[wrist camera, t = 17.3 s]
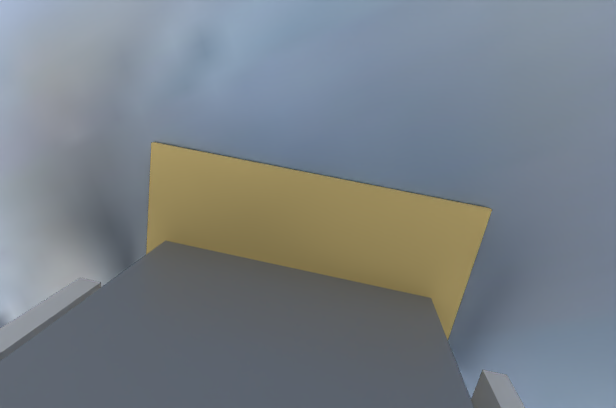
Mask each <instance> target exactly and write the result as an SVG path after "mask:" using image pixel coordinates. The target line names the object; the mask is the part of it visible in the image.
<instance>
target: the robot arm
mask: <svg viewBox="0 0 616 408" xmlns="http://www.w3.org/2000/svg"><path fill="white" fill-rule="evenodd" d="M100 288H101V282H98V281H94V280H89V279H85V278H79V279H77V280H75V281H74V282H72V283H71V284H69V285H68V286H66V287H64V288H63V289H61V290H60V291H58V292H57V293H55V294H53V295H52V296H50V297H49V298H47V299H46V300H44V301H42V302H41V303H39V304H38V305H36V306H35V307H33V308H31V309H30V310H28V311H27V312H25V313H24V314H22V315H21V316H19V317H17V318H16V319H14V320H13V321H11V322H10V323H8V324H6V325H5V326H3V327H2V328H0V361H1V360H2V359H4V358H5V357H7V356H8V355H9V354H11V353H12V352H13V351H15V350H16V349H18V348H19V347H20V346H22V345H23V344H24V343H26V342H27V341H29V340H30V339H31V338H33V337H34V336H35V335H37V334H38V333H39V332H41V331H42V330H44V329H45V328H46V327H48V326H49V325H50V324H52V323H53V322H55V321H56V320H57V319H59V318H60V317H61V316H63V315H64V314H66V313H67V312H68V311H70V310H71V309H72V308H74V307H75V306H77V305H78V304H79V303H81V302H82V301H83V300H85V299H86V298H87V297H89V296H90V295H92V294H93V293H94V292H96V291H97V290H98V289H100ZM471 401H472V404H473V406H474V408H525V407H524V405H523V403H522V401H521V399H520V398H519V396H518V394H517V392H516V390H515V389H514V387H513V385H512V383H511V382H510V380H509V378H508V376H507V375H505V374H501V373H496V372H492V371H487V370H482V372H481V375H480V378H479V380H478V383H477V385H476V388H475V391H474V393H473V396H472V398H471Z"/></svg>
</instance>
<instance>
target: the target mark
mask: <svg viewBox="0 0 616 408" xmlns="http://www.w3.org/2000/svg"><path fill="white" fill-rule="evenodd" d="M491 212H492V209H490V208H486V207H481V206H476V205H471V204H466V203H461V202H456V201H451V200H446V199H441V198H436V197H431V196H426V195H420V194H415V193H410V192H405V191H400V190H395V189H390V188H385V187H380V186H375V185H370V184H365V183H359V182H354V181H349V180H344V179H339V178H334V177H329V176H324V175H319V174H314V173H309V172H304V171H299V170H293V169H288V168H283V167H278V166H273V165H268V164H263V163H258V162H253V161H248V160H243V159H238V158H233V157H227V156H222V155H217V154H212V153H207V152H202V151H197V150H192V149H187V148H182V147H177V146H172V145H167V144H161V143H156V142H152V143H151V161H150V183H149V205H148V227H147V249H146V254H148V253H149V252H151V251H152V250H153V249H155V248H156V247H157V246H159V245H160V244H161V243H163V242H164V241H170V242H175V243H179V244H184V245H188V246H193V247H198V248H202V249H207V250H212V251H216V252H221V253H225V254H230V255H235V256H239V257H244V258H249V259H253V260H258V261H262V262H267V263H272V264H276V265H281V266H286V267H290V268H295V269H299V270H304V271H309V272H313V273H318V274H323V275H327V276H332V277H336V278H341V279H346V280H350V281H355V282H360V283H364V284H369V285H373V286H378V287H383V288H387V289H392V290H397V291H401V292H406V293H410V294H415V295H420V296H424V297H429V298H431V299H432V302H433V304H434V307H435V309H436V312H437V314H438V317H439V319H440V322H441V325H442V327H443V330H444V332H445V335H446V337H447V340H448V338H449V335H450V332H451V329H452V327H453V324H454V321H455V318H456V315H457V312H458V309H459V306H460V303H461V300H462V297H463V294H464V291H465V288H466V285H467V282H468V279H469V276H470V273H471V270H472V268H473V265H474V262H475V259H476V256H477V253H478V250H479V247H480V244H481V241H482V238H483V235H484V232H485V229H486V226H487V223H488V220H489V217H490V214H491Z"/></svg>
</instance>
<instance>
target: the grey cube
mask: <svg viewBox="0 0 616 408" xmlns="http://www.w3.org/2000/svg"><path fill="white" fill-rule="evenodd" d="M0 408H474V406H473V404H472V401H471V399H470V396H469V394H468V391H467V389H466V386H465V383H464V381H463V378H462V376H461V373H460V371H459V368H458V366H457V363H456V360H455V358H454V355H453V353H452V350H451V348H450V345H449V343H448V340H447V337H446V335H445V332H444V330H443V327H442V325H441V322H440V319H439V317H438V314H437V312H436V309H435V307H434V304H433V302H432V299H431V298H429V297H424V296H420V295H415V294H410V293H406V292H401V291H397V290H392V289H387V288H383V287H378V286H373V285H369V284H364V283H360V282H355V281H350V280H346V279H341V278H336V277H332V276H327V275H323V274H318V273H313V272H309V271H304V270H299V269H295V268H290V267H286V266H281V265H276V264H272V263H267V262H262V261H258V260H253V259H249V258H244V257H239V256H235V255H230V254H225V253H221V252H216V251H212V250H207V249H202V248H198V247H193V246H188V245H184V244H179V243H175V242H170V241H164V242H163V243H161V244H160V245H159V246H157V247H156V248H155V249H153V250H152V251H151V252H149V253H148V254H146V255H145V256H144V257H142V258H141V259H140V260H138V261H137V262H135V263H134V264H133V265H131V266H130V267H129V268H127V269H126V270H124V271H123V272H122V273H120V274H119V275H118V276H116V277H115V278H114V279H112V280H111V281H109V282H108V283H107V284H105V285H104V286H103V287H101V288H100V289H98V290H97V291H96V292H94V293H93V294H92V295H90V296H89V297H87V298H86V299H85V300H83V301H82V302H81V303H79V304H78V305H77V306H75V307H74V308H72V309H71V310H70V311H68V312H67V313H66V314H64V315H63V316H61V317H60V318H59V319H57V320H56V321H55V322H53V323H52V324H50V325H49V326H48V327H46V328H45V329H44V330H42V331H41V332H39V333H38V334H37V335H35V336H34V337H33V338H31V339H30V340H29V341H27V342H26V343H24V344H23V345H22V346H20V347H19V348H18V349H16V350H15V351H13V352H12V353H11V354H9V355H8V356H7V357H5V358H4V359H2V360H1V361H0Z"/></svg>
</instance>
